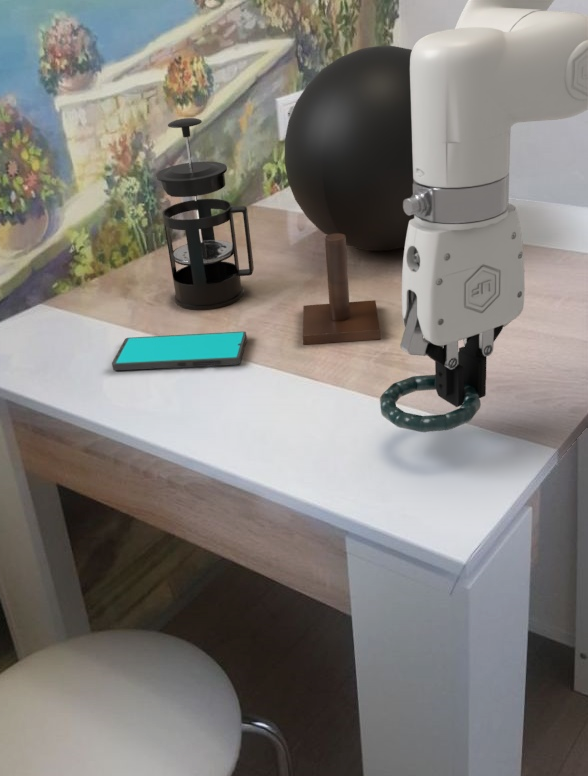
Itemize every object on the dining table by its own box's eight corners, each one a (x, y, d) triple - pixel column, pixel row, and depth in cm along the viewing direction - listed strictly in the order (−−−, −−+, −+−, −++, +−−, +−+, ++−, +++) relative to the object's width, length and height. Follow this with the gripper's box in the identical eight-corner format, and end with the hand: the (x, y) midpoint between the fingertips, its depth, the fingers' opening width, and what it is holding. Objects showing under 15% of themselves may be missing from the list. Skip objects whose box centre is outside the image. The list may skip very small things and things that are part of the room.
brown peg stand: (375, 309, 110) (372, 221, 104) (380, 339, 103) (376, 246, 97) (304, 314, 111) (296, 227, 105) (303, 344, 103) (295, 253, 98)
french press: (163, 311, 116) (132, 131, 104) (177, 285, 124) (150, 115, 112) (251, 307, 115) (229, 124, 103) (259, 281, 122) (241, 107, 110)
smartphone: (125, 337, 108) (246, 331, 106) (126, 343, 108) (247, 337, 106) (110, 364, 102) (238, 358, 100) (112, 371, 102) (239, 365, 100)
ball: (475, 212, 138) (479, 24, 124) (479, 276, 116) (485, 55, 102) (306, 220, 144) (291, 40, 130) (279, 282, 121) (258, 73, 107)
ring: (471, 382, 83) (471, 369, 82) (486, 430, 76) (487, 416, 75) (377, 389, 84) (377, 376, 83) (383, 438, 76) (383, 424, 76)
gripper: (406, 233, 66) (414, 441, 75) (569, 184, 71) (556, 385, 81) (353, 211, 71) (366, 407, 81) (506, 167, 77) (501, 356, 86)
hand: (461, 395), depth 81 cm, fingers closed on ring, 1 cm apart
